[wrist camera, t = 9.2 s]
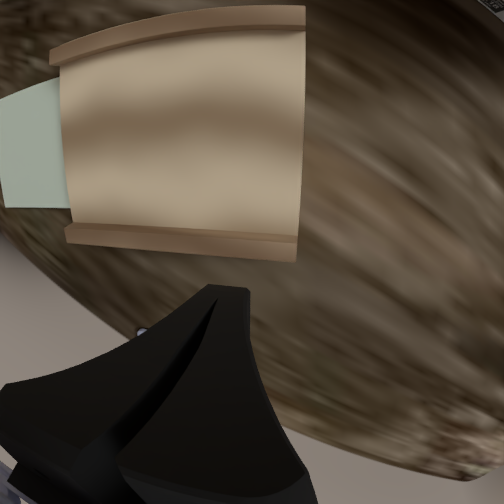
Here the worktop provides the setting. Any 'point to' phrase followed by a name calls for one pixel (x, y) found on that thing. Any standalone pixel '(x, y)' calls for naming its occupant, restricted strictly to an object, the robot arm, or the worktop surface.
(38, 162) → the cover plate
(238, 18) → the wooden box
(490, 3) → the light bulb box
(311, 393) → the worktop surface
